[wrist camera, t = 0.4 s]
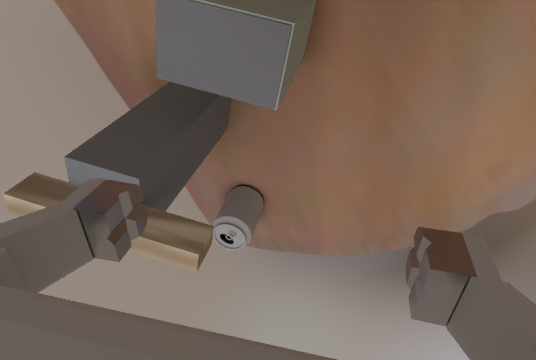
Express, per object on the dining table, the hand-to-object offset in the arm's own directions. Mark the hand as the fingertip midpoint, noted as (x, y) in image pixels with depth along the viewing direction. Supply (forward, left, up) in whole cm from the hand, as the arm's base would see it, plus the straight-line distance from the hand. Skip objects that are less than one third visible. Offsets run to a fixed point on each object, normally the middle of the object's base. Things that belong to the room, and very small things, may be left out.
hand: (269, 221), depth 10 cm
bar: (+20, -16, -17) cm, 31 cm away
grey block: (+5, -11, -47) cm, 49 cm away
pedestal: (+20, -18, -47) cm, 54 cm away
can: (+39, -8, -48) cm, 62 cm away
